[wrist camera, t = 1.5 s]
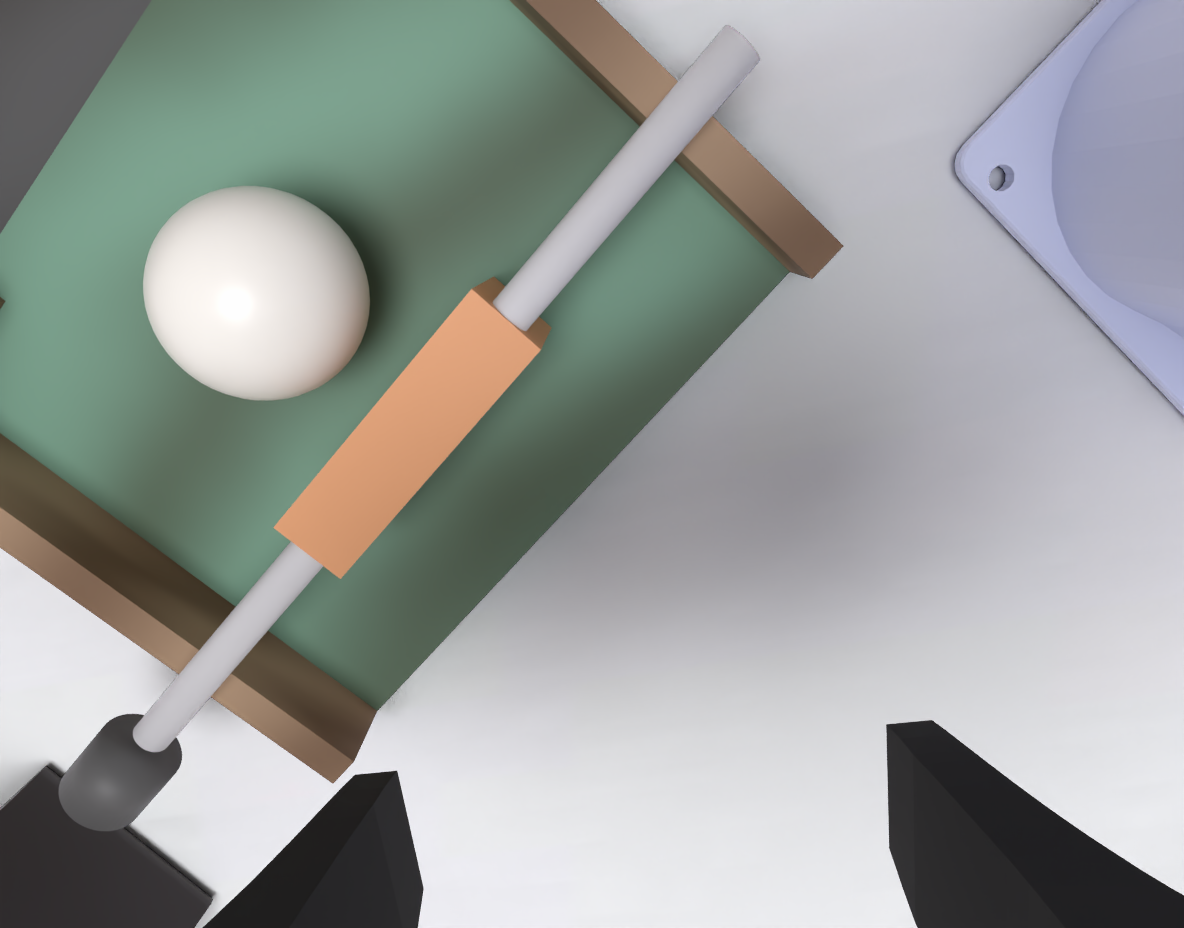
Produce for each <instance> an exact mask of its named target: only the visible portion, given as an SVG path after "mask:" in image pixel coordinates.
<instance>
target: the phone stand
mask: <svg viewBox="0 0 1184 928" xmlns="http://www.w3.org/2000/svg"><path fill="white" fill-rule="evenodd" d="M61 779H62V778H61V777H59V776H58V775H57V774H56V773H54V772H53V771H52V770H50V769H49V768H48V767H47V766H45V767H44V768H43V769H42V770H41V771H40V772H39V773H38V774H37V775H35V776H34V777H33V778H32V779H31V780H30V781H29V782H28V783H27V784H26V785H25V786H24V787H22V788H21V789H20V790H19V791H18V792H17V793H16V794H15V795H14V796H13V797H12V798H11V799H10V800H8V801H7V802H6V803H5V804H4V805H3V806H2V807H1V808H0V928H194V927H195V926H196V924H197V923H198V922H199V920H200V919H201V917H202V916H203V914H204V913H205V912H206V910H207V909H208V907H209V906H210V904H211V902H212V900H213V899H212V898H211V897H210V896H209V895H207V894H206V893H205V892H204V891H202V890H201V889H200V888H199V887H197V886H196V885H195V884H194V883H192V882H191V881H190V880H189V879H187V878H186V877H185V876H184V875H182V874H181V873H180V872H179V871H177V870H176V869H175V868H173V867H172V866H171V865H170V864H168V863H167V862H166V861H165V860H163V859H162V858H161V857H160V856H158V855H157V854H156V853H155V852H153V851H152V850H151V849H150V848H148V847H147V846H146V845H145V844H143V843H142V842H141V841H140V840H138V839H137V838H136V837H135V836H133V835H132V834H131V833H130V832H128V831H127V830H126V829H125V828H121V829H118V830H113V831H97V830H92V829H89V828H86V827H84V826H82V825H80V824H78V823H77V822H75V821H74V820H73V819H72V818H70V817H69V816H68V814H67V813H66V812H65V810H64V809H63V807H62V805H61V803H60V799H59V785H60V781H61Z"/></svg>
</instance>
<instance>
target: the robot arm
mask: <svg viewBox="0 0 1184 928" xmlns="http://www.w3.org/2000/svg"><path fill="white" fill-rule="evenodd" d="M954 164H955V172H956V174H957V176H958V178H959V179H960V181H961V182H962V183H963V184H964V185H965V186H966V187H967V188H968V189H969V190H970V192H971V193H972V194H973V195H974V196H975V197H976V198H977V199H978V200H979V201H980V202H981V203H982V204H983V205H984V206H985V207H986V208H987V209H988V210H989V211H990V213H991V214H992V215H993V216H994V217H995V218H996V219H997V220H998V221H999V222H1000V223H1001V224H1002V225H1003V226H1004V227H1005V228H1006V229H1007V230H1008V231H1009V233H1010V234H1011V235H1012V236H1013V237H1014V238H1015V239H1016V240H1017V241H1018V242H1019V243H1020V244H1021V245H1022V246H1023V247H1024V248H1025V249H1026V250H1027V251H1028V252H1029V254H1030V255H1031V256H1032V257H1033V258H1034V259H1035V260H1036V261H1037V262H1038V263H1039V264H1040V265H1041V266H1042V267H1043V268H1044V269H1045V270H1046V271H1047V272H1048V274H1049V275H1050V276H1051V277H1052V278H1053V279H1054V280H1055V281H1056V282H1057V283H1058V284H1059V285H1060V286H1061V287H1062V288H1063V289H1064V290H1065V291H1066V292H1067V293H1068V295H1069V296H1070V297H1071V298H1072V299H1073V300H1074V301H1075V302H1076V303H1077V304H1078V305H1079V306H1080V307H1081V308H1082V309H1083V310H1084V311H1085V312H1086V313H1087V314H1088V316H1089V317H1090V318H1091V319H1092V320H1093V321H1094V322H1095V323H1096V324H1097V325H1098V326H1099V327H1100V328H1101V329H1102V330H1103V331H1104V332H1105V333H1106V334H1107V336H1108V337H1109V338H1110V339H1111V340H1112V341H1113V342H1114V343H1115V344H1116V345H1117V346H1118V347H1119V348H1120V349H1121V350H1122V351H1123V352H1124V353H1125V354H1126V355H1127V357H1128V358H1129V359H1130V360H1131V361H1132V362H1133V363H1134V364H1135V365H1136V366H1137V367H1138V368H1139V369H1140V370H1141V371H1142V372H1143V373H1144V374H1145V375H1146V377H1147V378H1148V379H1149V380H1150V381H1151V382H1152V383H1153V384H1154V385H1155V386H1156V387H1157V388H1158V389H1159V390H1160V391H1161V392H1162V393H1163V394H1164V395H1165V396H1166V398H1167V399H1168V400H1169V401H1170V402H1171V403H1172V404H1173V405H1174V406H1175V407H1176V408H1177V409H1178V410H1179V411H1180V412H1181V413H1182V414H1183V415H1184V0H1101V1H1100V2H1099V4H1098V5H1097V6H1096V7H1095V8H1094V9H1093V10H1092V11H1091V12H1090V13H1089V14H1088V15H1087V16H1086V17H1085V18H1084V19H1083V20H1082V21H1081V22H1080V23H1079V24H1078V25H1077V26H1076V28H1075V29H1074V30H1073V31H1072V32H1071V33H1070V34H1069V35H1068V36H1067V37H1066V38H1065V39H1064V40H1063V41H1062V42H1061V43H1060V44H1059V45H1058V46H1057V47H1056V48H1055V49H1054V51H1053V52H1052V53H1051V54H1050V55H1049V56H1048V57H1047V58H1046V59H1045V60H1044V61H1043V62H1042V63H1041V64H1040V65H1039V66H1038V67H1037V68H1036V69H1035V70H1034V71H1033V72H1032V73H1031V75H1030V76H1029V77H1028V78H1027V79H1026V80H1025V81H1024V82H1023V83H1022V84H1021V85H1020V86H1019V87H1018V88H1017V89H1016V90H1015V91H1014V92H1013V93H1012V94H1011V95H1010V96H1009V97H1008V99H1007V100H1006V101H1005V102H1004V103H1003V104H1002V105H1001V106H1000V107H999V108H998V109H997V110H996V111H995V112H994V113H993V114H992V115H991V116H990V117H989V118H988V119H987V120H986V122H985V123H984V124H983V125H982V126H981V127H980V128H979V129H978V130H977V131H976V132H975V133H974V134H973V135H972V136H971V137H970V138H969V139H968V140H967V141H966V142H965V143H964V144H963V146H962V147H961V149H960V150H959V152H958V153H957V155H956V159H955V163H954ZM997 166H999V167H1001V168H1002V169H1003V170H1004V172H1005V174H1006V177H1005V182H1004V184H1003V186H1002V187H1001V188H1000V189H998V190H997V191H996V190H994V189H992V188H991V186H990V184H989V175H990V173H991V171H992V170H993V169H994V168H995V167H997ZM886 726H887V768H888V810H889V848H890V851H891V854H892V857H893V860H894V863H895V866H896V869H897V872H898V875H899V878H900V881H901V884H902V887H903V890H904V893H905V895H906V898H907V901H908V904H909V906H910V909H911V912H912V915H913V918H914V920H915V923H916V925H917V927H918V928H1184V895H1182V894H1180V893H1179V892H1177V891H1175V890H1173V889H1171V888H1170V887H1168V886H1166V885H1165V884H1163V883H1161V882H1160V881H1158V880H1156V879H1155V878H1153V877H1152V876H1150V875H1148V874H1147V873H1145V872H1143V871H1142V870H1140V869H1138V868H1137V867H1135V866H1134V865H1132V864H1131V863H1129V862H1128V861H1126V860H1125V859H1123V858H1121V857H1120V856H1118V855H1117V854H1115V853H1114V852H1112V851H1111V850H1109V849H1108V848H1106V847H1105V846H1103V845H1102V844H1100V843H1098V842H1097V841H1095V840H1094V839H1092V838H1091V837H1089V836H1088V835H1086V834H1085V833H1083V832H1082V831H1080V830H1079V829H1078V828H1076V827H1075V826H1073V825H1072V824H1070V823H1069V822H1067V821H1066V820H1064V819H1063V818H1062V817H1060V816H1059V815H1057V814H1056V813H1055V812H1053V811H1052V810H1050V809H1049V808H1048V807H1046V806H1045V805H1043V804H1042V803H1041V802H1039V801H1038V800H1037V799H1035V798H1034V797H1032V796H1031V795H1030V794H1028V793H1027V792H1026V791H1024V790H1023V789H1022V788H1020V787H1019V786H1017V785H1016V784H1015V783H1013V782H1012V781H1011V780H1009V779H1008V778H1007V777H1005V776H1004V775H1003V774H1002V773H1000V772H999V771H998V770H996V769H995V768H994V767H992V766H991V765H990V764H988V763H987V762H986V761H985V760H983V759H982V758H981V757H979V756H978V755H977V754H975V753H974V752H973V751H972V750H970V749H969V748H968V747H966V746H965V745H964V744H963V743H961V742H960V741H959V740H957V739H956V738H955V737H954V736H952V735H951V734H950V733H948V732H947V731H946V730H944V729H943V728H942V727H940V726H939V725H938V724H936V723H935V722H934V721H932V720H929V721H919V722H908V723H897V724H887V725H886ZM422 896H423V884H422V880H421V875H420V871H419V866H418V862H417V857H416V853H415V848H414V844H413V839H412V835H411V831H410V826H409V822H408V817H407V813H406V808H405V804H404V799H403V795H402V790H401V786H400V781H399V777H398V772H397V771H391V772H381V773H370V774H359V775H354V776H353V777H352V778H351V779H350V780H349V781H348V782H347V783H346V784H345V785H344V786H343V787H342V788H341V789H340V790H339V791H338V792H337V793H336V794H335V795H334V796H333V797H332V799H331V800H330V801H329V802H328V803H327V804H326V805H325V806H324V807H323V808H322V809H321V810H320V811H319V812H318V813H317V814H316V815H315V816H314V818H313V819H312V820H311V821H310V822H309V823H308V824H307V825H306V826H305V827H304V828H303V829H302V830H301V831H300V832H299V833H298V834H297V835H296V836H295V837H294V839H293V840H292V841H291V842H290V843H289V844H288V845H287V846H286V847H285V848H284V849H283V850H282V851H281V852H280V853H279V854H278V855H277V856H276V857H275V858H274V859H273V860H272V861H271V862H270V863H269V864H268V865H267V866H266V867H265V868H264V869H263V870H262V871H261V872H260V873H259V874H258V875H257V876H256V878H255V879H253V880H252V881H251V882H250V883H249V884H248V885H247V886H246V887H245V888H244V889H243V890H242V891H241V892H240V893H239V894H238V895H237V896H236V897H235V898H234V899H233V900H231V901H230V902H229V903H228V904H227V905H226V906H225V907H224V908H223V909H222V910H221V911H220V912H219V913H218V914H217V915H216V916H215V917H214V918H212V919H211V920H210V921H209V922H208V923H207V924H206V925H205V926H204V927H203V928H418V922H419V915H420V909H421V902H422Z"/></svg>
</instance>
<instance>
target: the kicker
mask: <svg viewBox="0 0 1184 928" xmlns="http://www.w3.org/2000/svg"><path fill="white" fill-rule="evenodd" d="M759 61H760V58H759V55H758V53H757V52H756V50H755V49H754V47H753V46H752V45H751V44H750V42H749V41H748V40H747V39H746V38H745V37H744V36H743V35H742V34H741V33H739V32H738V31H737V30H736V29H734V28H733V27H731V26H728V25H725V26H724V27H723V29H722V30H721V31H720V32H719V33H718V35H717V36H716V37H715V38H714V39H713V41H712V42H711V43H710V44H709V45H708V46H707V48H706V49H705V50H704V51H703V52H702V54H701V55H700V56H699V57H698V58H697V60H696V61H695V62H694V63H693V64H692V65H691V67H690V68H689V69H688V70H687V71H686V73H685V74H684V75H683V76H682V77H681V79H680V80H679V81H678V82H677V83H676V85H675V86H674V87H673V88H672V89H671V90H670V92H669V93H668V94H667V95H666V96H665V98H664V99H663V100H662V101H661V102H660V104H659V105H658V106H657V107H656V108H655V109H654V111H653V112H652V113H651V114H650V115H649V117H648V118H647V119H646V120H645V121H644V123H643V124H642V125H641V126H640V127H639V128H638V130H637V131H636V132H635V133H634V134H633V136H632V137H631V138H630V139H629V140H628V142H627V143H626V144H625V145H624V146H623V147H622V149H621V150H620V151H619V152H618V153H617V155H616V156H615V157H614V158H613V159H612V161H611V162H610V163H609V164H608V165H607V166H606V168H605V169H604V170H603V171H602V172H601V174H600V175H599V176H598V177H597V178H596V180H595V181H594V182H593V183H592V184H591V185H590V187H589V188H588V189H587V190H586V191H585V193H584V194H583V195H582V196H581V197H580V199H579V200H578V201H577V202H576V203H575V204H574V206H573V207H572V208H571V209H570V210H569V212H568V213H567V214H566V215H565V216H564V218H563V219H562V220H561V221H560V222H559V223H558V225H557V226H556V227H555V228H554V229H553V231H552V232H551V233H550V234H549V235H548V237H547V238H546V239H545V240H544V241H543V242H542V244H541V245H540V246H539V247H538V248H537V250H536V251H535V252H534V253H533V254H532V256H531V257H530V258H529V259H528V260H527V261H526V263H525V264H524V265H523V266H522V267H521V269H520V270H519V271H518V272H517V273H516V275H515V276H514V277H513V278H512V279H511V281H510V282H509V283H508V284H507V285H506V286H504V285H503V284H502V283H501V282H500V281H498V280H497V279H496V278H495V277H492V278H490V279H488V280H487V281H485V282H483V283H481V284H479V285H478V286H476V287H474V288H472V289H471V290H470V291H469V292H468V294H467V295H466V296H465V297H464V299H463V300H462V301H461V302H460V303H459V305H458V306H457V307H456V308H455V309H454V311H453V312H452V313H451V314H450V315H449V317H448V318H447V319H446V320H445V321H444V323H443V324H442V325H441V326H440V327H439V329H438V330H437V331H436V332H435V333H434V335H433V336H432V337H431V338H430V339H429V341H428V342H427V343H426V344H425V345H424V347H423V348H422V349H421V350H420V352H419V353H418V354H417V355H416V356H415V358H414V359H413V360H412V361H411V362H410V364H409V365H408V366H407V367H406V368H405V370H404V371H403V372H402V373H401V374H400V376H399V377H398V378H397V379H396V380H395V382H394V383H393V384H392V385H391V386H390V388H389V389H388V390H387V391H386V392H385V394H384V395H383V396H382V397H381V398H380V400H379V401H378V402H377V403H376V404H375V406H374V407H373V408H372V409H371V411H370V412H369V413H368V414H367V415H366V417H365V418H364V419H363V420H362V421H361V423H360V424H359V425H358V426H357V427H356V429H355V430H354V431H353V432H352V433H351V435H350V436H349V437H348V438H347V439H346V441H345V442H344V443H343V444H342V445H341V447H340V448H339V449H338V450H337V451H336V453H335V454H334V455H333V456H332V457H331V459H330V460H329V461H328V462H327V464H326V465H325V466H324V467H323V468H322V470H321V471H320V472H319V473H318V474H317V476H316V477H315V478H314V479H313V480H312V482H311V483H310V484H309V485H308V486H307V488H306V489H305V490H304V491H303V492H302V494H301V495H300V496H299V497H298V498H297V500H296V501H295V502H294V503H293V504H292V506H291V507H290V508H289V509H288V510H287V512H286V513H285V514H284V515H283V517H282V518H281V519H280V520H279V521H278V523H277V524H276V525H275V526H274V527H273V528H274V529H276V530H277V531H278V532H280V533H281V534H282V535H283V536H285V537H286V538H287V539H289V540H290V541H291V542H290V543H289V544H288V545H287V547H286V548H285V549H284V550H283V551H282V553H281V554H280V555H279V556H278V557H277V558H276V560H275V561H274V562H273V563H272V564H271V566H270V567H269V568H268V569H267V570H266V572H265V573H264V574H263V575H262V576H261V577H260V579H259V580H258V581H257V582H256V583H255V585H254V586H253V587H252V588H251V589H250V591H249V592H248V593H247V594H246V595H245V596H244V598H243V599H242V600H241V601H240V602H239V604H238V605H237V606H236V607H235V608H234V610H233V611H232V612H231V613H230V614H229V615H228V617H227V618H226V619H225V620H224V621H223V623H222V624H221V625H220V626H219V627H218V629H217V630H216V631H215V632H214V633H213V634H212V636H211V637H210V638H209V639H208V640H207V642H206V643H205V644H204V645H203V646H202V648H201V649H200V650H199V651H198V652H197V654H196V655H195V656H194V657H193V658H192V659H191V661H190V662H189V663H188V664H187V665H186V667H185V668H184V669H183V670H182V671H181V673H180V674H179V675H178V676H177V677H176V678H175V680H174V681H173V682H172V683H171V684H170V686H169V687H168V688H167V689H166V690H165V692H164V693H163V694H162V695H161V696H160V697H159V699H158V700H157V701H156V702H155V703H154V705H153V706H152V707H151V708H150V709H149V711H148V712H147V713H146V714H145V715H139V714H126V715H121V716H118V717H116V718H113V719H112V720H110V721H109V722H108V723H106V725H105V726H104V727H103V728H102V729H101V731H100V732H99V733H98V734H97V735H96V737H95V738H94V739H93V740H92V741H91V743H90V744H89V745H88V746H87V747H86V749H85V750H84V751H83V752H82V753H81V755H80V756H79V757H78V758H77V760H76V761H75V762H74V763H73V764H72V766H71V767H70V768H69V769H68V770H67V772H66V773H65V774H64V775H63V777H62V779H61V781H60V785H59V799H60V803H61V805H62V807H63V809H64V810H65V812H66V813H67V814H68V816H69V817H70V818H72V819H73V820H74V821H75V822H77V823H78V824H80V825H82V826H84V827H86V828H89V829H92V830H97V831H113V830H118V829H121V828H123V827H126V826H127V825H129V824H130V823H132V822H133V821H134V820H135V819H136V818H137V816H138V815H139V814H140V813H141V812H142V811H143V810H144V808H145V807H146V806H147V805H148V804H149V803H150V802H151V800H152V799H153V798H154V797H155V796H156V795H157V794H158V792H159V791H160V790H161V789H162V788H163V787H164V786H165V785H166V783H167V782H168V781H169V780H170V779H171V778H172V777H173V775H174V774H175V773H176V772H177V770H178V769H179V767H180V764H181V760H182V751H181V747H180V744H179V742H178V740H177V738H176V736H177V735H178V734H179V733H180V732H181V731H182V729H183V728H184V727H185V726H186V725H187V724H188V723H189V721H190V720H191V719H192V718H193V717H194V716H195V714H196V713H197V712H198V711H199V710H200V709H201V707H202V706H203V705H204V704H205V703H206V702H207V700H208V699H209V698H210V697H211V696H212V695H213V694H214V692H215V691H216V690H217V689H218V688H219V687H220V685H221V684H222V683H223V682H224V681H225V680H226V678H227V677H228V676H229V675H230V674H231V673H232V672H233V670H234V669H235V668H236V667H237V666H238V665H239V663H240V662H241V661H242V660H243V659H244V658H245V656H246V655H247V654H248V653H249V652H250V651H251V650H252V648H253V647H254V646H255V645H256V644H257V643H258V641H259V640H260V639H261V638H262V637H263V636H264V634H265V633H266V632H267V631H268V630H269V629H270V628H271V626H272V625H273V624H274V623H275V622H276V621H277V619H278V618H279V617H280V616H281V615H282V614H283V612H284V611H285V610H286V609H287V608H288V607H289V605H290V604H291V603H292V602H293V601H294V600H295V599H296V597H297V596H298V595H299V594H300V593H301V592H302V590H303V589H304V588H305V587H306V586H307V585H308V583H309V582H310V581H311V580H312V579H313V578H314V577H315V575H316V574H317V573H318V572H319V571H320V570H321V568H322V567H323V566H324V567H325V568H327V569H328V570H329V571H330V572H332V573H333V574H334V575H336V576H337V577H338V578H340V579H341V578H342V577H343V576H344V574H345V573H346V572H347V571H348V570H349V569H350V568H351V566H352V565H353V564H354V563H355V562H356V561H357V560H358V558H359V557H360V556H361V555H362V554H363V553H364V552H365V550H366V549H367V548H368V547H369V546H370V545H371V544H372V542H373V541H374V540H375V539H376V538H377V537H378V536H379V534H380V533H381V532H382V531H383V530H384V529H385V528H386V526H387V525H388V524H389V523H390V522H391V521H392V520H393V518H394V517H395V516H396V515H397V514H398V513H399V512H400V510H401V509H402V508H403V507H404V506H405V505H406V504H407V502H408V501H409V500H410V499H411V498H412V497H413V496H414V494H415V493H416V492H417V491H418V490H419V489H420V488H421V486H422V485H423V484H424V483H425V482H426V481H427V480H428V478H429V477H430V476H431V475H432V474H433V473H434V472H435V470H436V469H437V468H438V467H439V466H440V465H441V464H442V462H443V461H444V460H445V459H446V458H447V457H448V456H449V454H450V453H451V452H452V451H453V450H454V449H455V448H456V446H457V445H458V444H459V443H460V442H461V441H462V440H463V438H464V437H465V436H466V435H467V434H468V433H469V432H470V430H471V429H472V428H473V427H474V426H475V425H476V424H477V422H478V421H479V420H480V419H481V418H482V417H483V416H484V414H485V413H486V412H487V411H488V410H489V409H490V408H491V406H492V405H493V404H494V403H495V402H496V401H497V400H498V398H499V397H500V396H501V395H502V394H503V393H504V392H505V390H506V389H507V388H508V387H509V386H510V385H511V384H512V382H513V381H514V380H515V379H516V378H517V377H518V376H519V374H520V373H521V372H522V371H523V370H524V369H525V368H526V366H527V365H528V364H529V363H530V362H531V361H532V359H533V358H534V357H535V356H536V355H537V354H538V353H539V351H540V350H541V349H542V347H543V345H544V343H545V340H546V338H547V336H548V334H549V332H550V330H551V328H552V327H550V326H549V325H548V324H547V323H546V322H545V321H544V320H543V319H541V318H540V317H539V316H540V315H541V314H542V312H543V311H544V310H545V309H546V308H547V307H548V305H549V304H550V303H551V302H552V301H553V300H554V299H555V297H556V296H557V295H558V294H559V293H560V292H561V290H562V289H563V288H564V287H565V286H566V285H567V283H568V282H569V281H570V280H571V279H572V278H573V276H574V275H575V274H576V273H577V272H578V271H579V270H580V268H581V267H582V266H583V265H584V264H585V263H586V261H587V260H588V259H589V258H590V257H591V256H592V254H593V253H594V252H595V251H596V250H597V249H598V248H599V246H600V245H601V244H602V243H603V242H604V241H605V239H606V238H607V237H608V236H609V235H610V234H611V232H612V231H613V230H614V229H615V228H616V227H617V226H618V224H619V223H620V222H621V221H622V220H623V219H624V217H625V216H626V215H627V214H628V213H629V212H630V210H631V209H632V208H633V207H634V206H635V205H636V204H637V202H638V201H639V200H640V199H641V198H642V197H643V195H644V194H645V193H646V192H647V191H648V190H649V188H650V187H651V186H652V185H653V184H654V183H655V182H656V180H657V179H658V178H659V177H660V176H661V175H662V173H663V172H664V171H665V170H666V169H667V168H668V166H669V165H670V164H671V163H672V162H673V161H674V159H675V158H676V157H677V156H678V155H679V154H680V153H681V151H682V150H683V149H684V148H685V147H686V146H687V144H688V143H689V142H690V141H691V140H692V139H693V137H694V136H695V135H696V134H697V133H698V132H699V131H700V129H701V128H702V127H703V126H704V125H705V124H706V122H707V121H708V120H709V119H710V118H711V117H712V115H713V114H714V113H715V112H716V111H717V110H718V109H719V107H720V106H721V105H722V104H723V103H724V102H725V100H726V99H727V98H728V97H729V96H730V95H731V93H732V92H733V91H734V90H735V89H736V88H737V87H738V85H739V84H740V83H741V82H742V81H743V80H744V78H745V77H746V76H747V75H748V74H749V73H750V71H751V70H752V69H753V68H754V67H755V66H756V64H757V63H758V62H759Z"/></svg>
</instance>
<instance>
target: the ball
mask: <svg viewBox="0 0 1184 928" xmlns="http://www.w3.org/2000/svg"><path fill="white" fill-rule="evenodd" d="M143 295H144V302H145V308H146V312H147V315H148V319H149V321H150V324H151V326H152V329H153V331H154V333H155V335H156V337H157V338H158V340H159V342H160V344H161V345H162V346H163V348H164V349H165V351H166V352H167V353H168V355H169V356H170V357H171V358H172V359H173V360H174V361H175V362H176V364H178V365H179V366H180V367H181V368H182V369H183V370H184V371H185V372H187V373H188V374H189V375H190V376H192V377H193V378H195V379H196V380H198V381H199V382H200V383H202V384H204V385H206V386H208V387H210V388H212V389H214V390H216V391H219V392H221V393H224V394H227V395H231V396H234V397H238V398H242V399H249V400H266V401H269V400H280V399H288V398H292V397H295V396H299V395H302V394H304V393H307V392H309V391H312V390H314V389H316V388H318V387H320V386H321V385H323V384H325V383H327V382H328V381H329V380H330V379H332V378H333V377H334V376H335V375H337V374H338V373H339V372H340V371H341V370H342V369H343V368H344V367H345V366H346V365H347V364H348V363H349V361H350V360H351V358H352V357H353V355H354V354H355V353H356V351H357V349H358V347H359V345H360V343H361V341H362V339H363V336H364V333H365V330H366V327H367V323H368V318H369V310H370V293H369V285H368V279H367V275H366V272H365V268H364V265H363V262H362V260H361V258H360V256H359V254H358V252H357V250H356V248H355V246H354V245H353V243H352V242H351V240H350V238H349V237H348V236H347V234H346V233H345V232H344V231H343V230H342V228H341V227H340V226H339V225H338V224H337V223H336V222H335V221H334V220H333V219H332V218H331V217H330V216H328V215H327V214H326V213H324V212H323V211H322V210H320V209H319V208H318V207H316V206H315V205H313V204H311V203H310V202H308V201H306V200H305V199H303V198H300V197H298V196H296V195H293V194H291V193H288V192H284V191H281V190H277V189H273V188H268V187H261V186H237V187H229V188H223V189H219V190H216V191H212V192H209V193H207V194H205V195H203V196H200V197H198V198H196V199H194V200H192V201H190V202H189V203H187V204H186V205H184V206H183V207H181V208H180V209H179V210H178V211H177V212H176V213H175V214H173V215H172V216H171V217H170V218H169V220H168V221H167V222H166V223H165V224H164V226H163V227H162V228H161V229H160V231H159V232H158V234H157V236H156V237H155V239H154V241H153V243H152V245H151V248H150V250H149V253H148V256H147V260H146V264H145V269H144V277H143Z"/></svg>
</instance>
